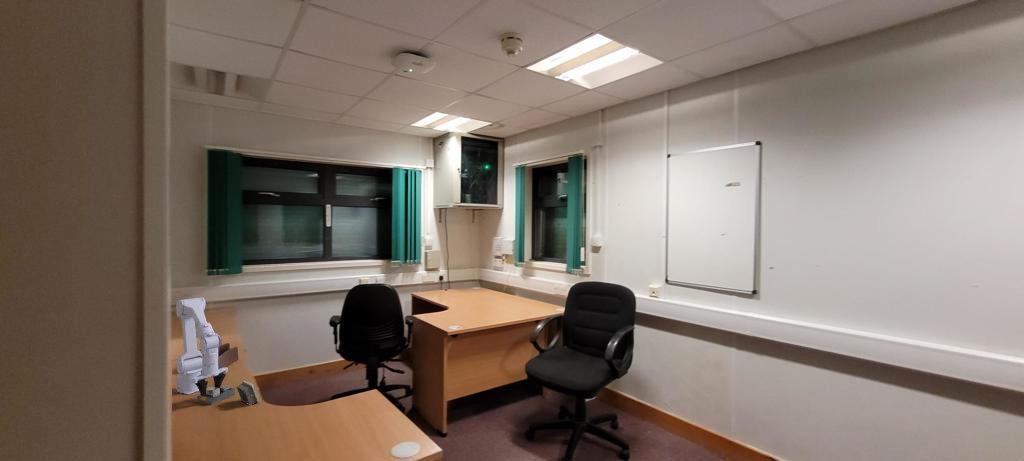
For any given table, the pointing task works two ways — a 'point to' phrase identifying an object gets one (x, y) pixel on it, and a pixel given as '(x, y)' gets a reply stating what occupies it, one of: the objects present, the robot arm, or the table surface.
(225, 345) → the letter holder
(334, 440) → the table surface
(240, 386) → the electrical switch
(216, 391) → the grey block
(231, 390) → the rack
